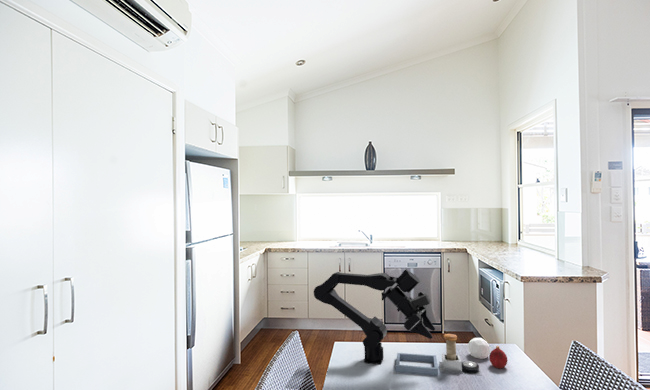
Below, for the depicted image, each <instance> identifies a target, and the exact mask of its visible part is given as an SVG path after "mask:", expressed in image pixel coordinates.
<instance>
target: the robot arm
mask: <svg viewBox="0 0 650 390" xmlns="http://www.w3.org/2000/svg"><path fill="white" fill-rule="evenodd" d="M420 282H421V280H420V279H419V277H418V276H417V275H416V274H414V273H413V272H411V271H410V270H408V269H407V268H405V269H404V270H403V272H402V273H401V274H400V275H399V276H398V277H395V276H392V275H389V274H388V273H386V272H379V273H372V274H361V273H359V274H358V273H348V272H339V271H337V272H334V273H332V274H331V275H330V277H328V278H327V279H326V280H325V281H324V282H323V283H321V284H318V285H317V286H315V288H314V289H313V297H314V298H315V299H316V300H317V301H319V302H321V303H323V304H325V305H329V306H332V307H333V308H334V309H336V310H337V311H338V312H340V313H341V314H342V315H344V316H345V317H346V318H348V319H349V320H350V321H351V322H353V323H354V324H356V325H357V326H358V327H359V328H360V329H361V331H362V332H363V333H364V335H365V337H364V339H363V340H362V346H364V347H363V349H364V360H363V363H367V364H383V363H382V362H383V361H384V347H383V346H382V341H383V340H384V338H385V337H386V335H387V334H388V330H387V326H386V325H385V324H384V321H383V320H382V321H381V320H380V319H379V318H378V317H377V316H373V317H372V318H370V317H368V316H367V315H366V314H363V313H362V312H361V311H359V310H358V309H357V308H356V307H354V306H353V305H351V304H350V303H349V302H347V301H346V300H345V299H343V298H342V297H341V296H339V294H338V292H337V291H336V289H335V288H336V287H337V286H338V285H339V284H343V285H355V286H364V287H368V288H369V289H370V288H371V289H372V290H373V289H374V290H375V291H379V292H381V301H385V300H386V298H387V299H388V300H389V301H390V302H391V303H392V304H393V305H394V306H395V307H396V311H397V312H399V313H400V312H401V314H402V315H403V316H404V317H405V318H404V320H405V321H404V322H403V327H404V329H405V330H406V331H407V332H409V331H410V332H413V333H416V334H418V335H420V336H422V337H424V338H427V339H429V340H432V339H433V337H434V336H433V335H432V333H431V332H430V331H433V332H434V331H435V330H436V327H435V326H434V324H433V322H432V321H431V319H430V317H429V316H428V308H427V306H428V305H429V304H430V302H431V299H430V298H429V294H428V293H424V291H420V292H418V293H417V296H416V297H415V298H413V297H412V296H408V295H407V294H406V293H411V292H412V291H413V290H414V289H415V288H416V287H417V286H418V285H419V284H420ZM395 284H396V285H395ZM394 285H395V286H394ZM393 286H394V287H393ZM386 289H387V290H386ZM385 290H386V291H385ZM429 330H430V331H429Z"/></svg>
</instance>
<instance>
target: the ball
mask: <svg viewBox="0 0 650 390" xmlns="http://www.w3.org/2000/svg"><path fill="white" fill-rule="evenodd" d="M490 348H491V347H490V345H489V343H488V342H487V341H486V340H485V339H484V338H482V337H473V338H471V339H470V341H469V342H468V344H467V349H468V352H469V354H470V356H471V357H473V358H475V359H480V360H483V359H486V358H488V357H489V355H490V353H491V349H490Z"/></svg>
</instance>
